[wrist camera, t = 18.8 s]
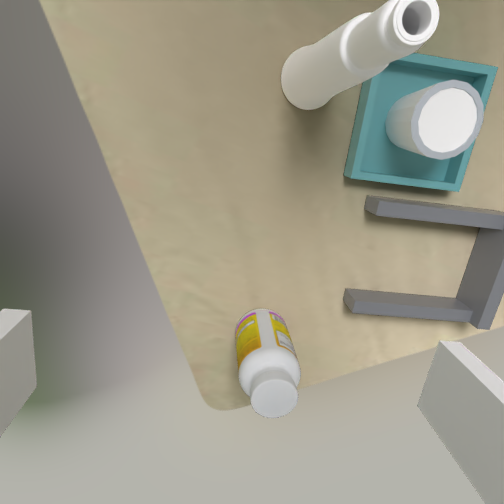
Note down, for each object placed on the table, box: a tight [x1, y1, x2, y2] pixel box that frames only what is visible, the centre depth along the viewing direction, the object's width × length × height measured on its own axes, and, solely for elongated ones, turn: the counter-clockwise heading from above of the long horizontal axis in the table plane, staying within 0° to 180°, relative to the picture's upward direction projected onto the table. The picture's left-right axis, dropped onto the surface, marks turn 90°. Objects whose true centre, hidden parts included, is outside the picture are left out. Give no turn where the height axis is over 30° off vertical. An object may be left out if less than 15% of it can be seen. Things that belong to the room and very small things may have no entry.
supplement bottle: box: [236, 309, 301, 418], centre depth 41 cm, size 7×7×13 cm
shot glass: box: [385, 80, 483, 160], centre depth 36 cm, size 7×7×7 cm
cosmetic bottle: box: [281, 0, 439, 110], centre depth 27 cm, size 6×6×22 cm
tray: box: [344, 53, 498, 192], centre depth 38 cm, size 13×13×2 cm
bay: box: [343, 195, 504, 330], centre depth 43 cm, size 17×14×5 cm
